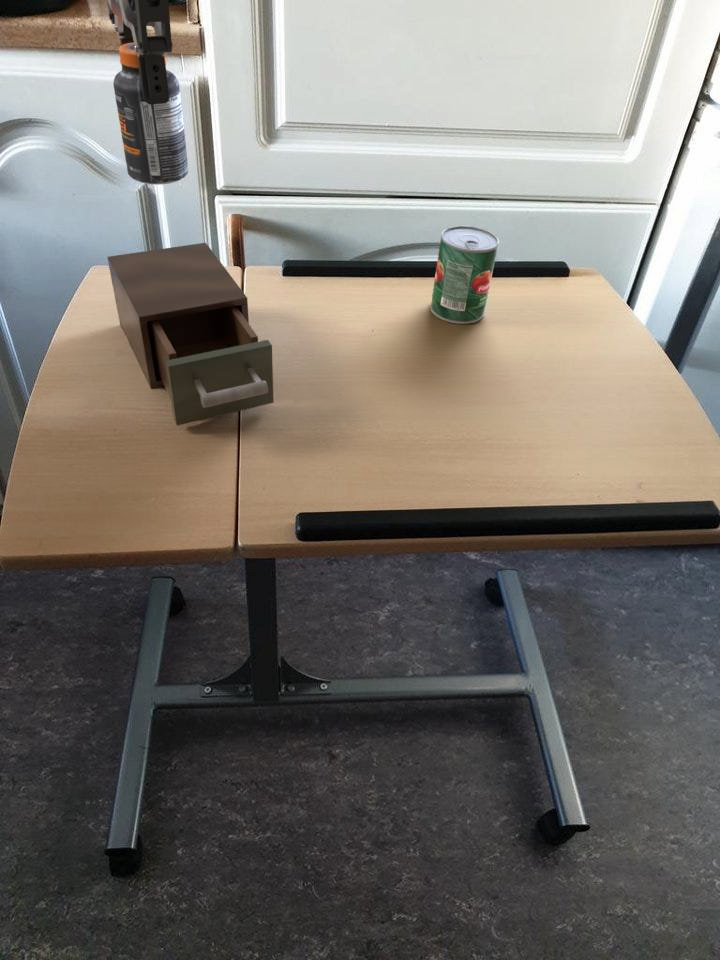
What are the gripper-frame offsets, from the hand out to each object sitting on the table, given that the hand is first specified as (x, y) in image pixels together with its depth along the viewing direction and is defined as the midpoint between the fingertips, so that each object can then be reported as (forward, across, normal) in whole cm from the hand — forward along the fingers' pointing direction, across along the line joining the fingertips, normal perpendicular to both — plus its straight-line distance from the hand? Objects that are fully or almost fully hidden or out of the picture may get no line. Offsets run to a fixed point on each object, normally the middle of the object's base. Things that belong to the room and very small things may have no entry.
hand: (147, 91), depth 66 cm
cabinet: (+31, +5, -2) cm, 32 cm away
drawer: (+30, -6, -2) cm, 31 cm away
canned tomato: (+32, 0, -40) cm, 51 cm away
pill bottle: (+8, 0, 0) cm, 8 cm away
